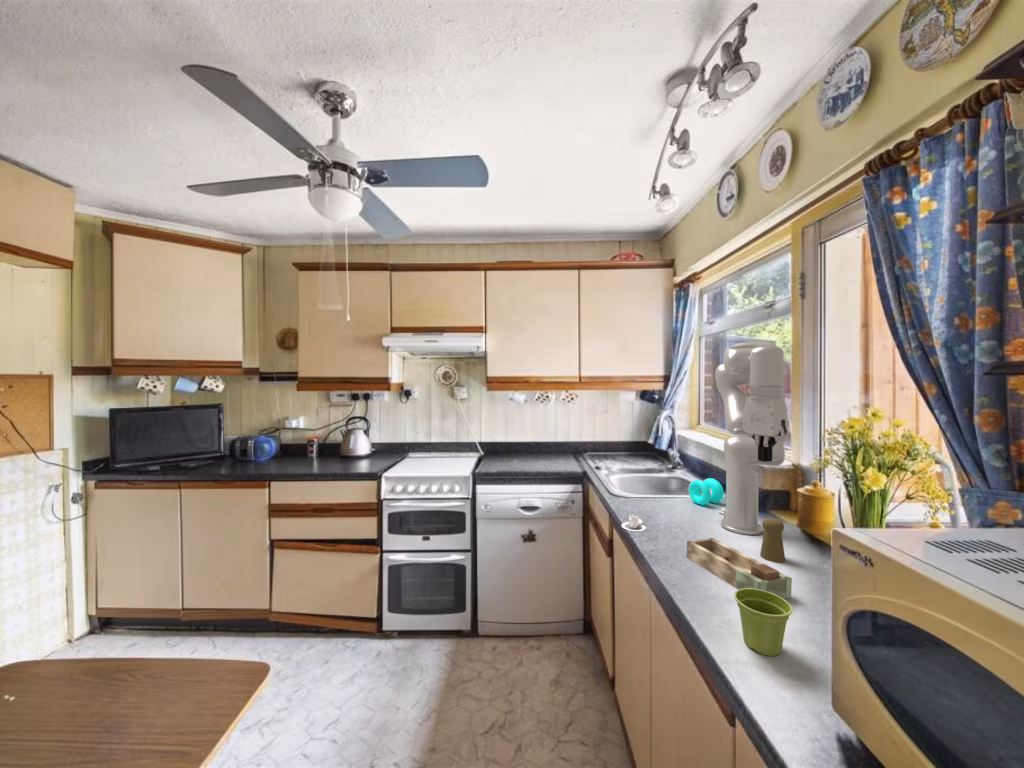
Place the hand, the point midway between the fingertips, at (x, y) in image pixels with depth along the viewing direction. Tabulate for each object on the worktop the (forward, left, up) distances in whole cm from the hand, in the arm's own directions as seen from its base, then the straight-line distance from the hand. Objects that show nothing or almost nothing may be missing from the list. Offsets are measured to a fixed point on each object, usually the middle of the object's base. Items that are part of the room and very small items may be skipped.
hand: (764, 460), depth 106 cm
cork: (-4, +8, -29) cm, 31 cm away
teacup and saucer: (-34, -14, -30) cm, 47 cm away
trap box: (+1, -11, -29) cm, 31 cm away
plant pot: (+24, -28, -29) cm, 47 cm away
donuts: (-49, +26, -29) cm, 63 cm away
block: (+10, -11, -27) cm, 31 cm away
